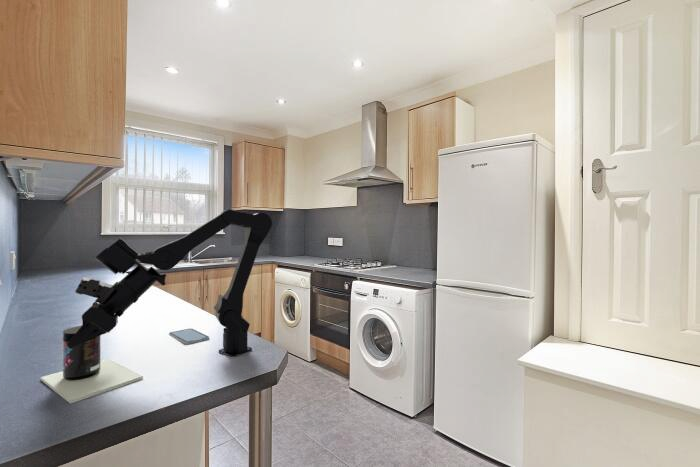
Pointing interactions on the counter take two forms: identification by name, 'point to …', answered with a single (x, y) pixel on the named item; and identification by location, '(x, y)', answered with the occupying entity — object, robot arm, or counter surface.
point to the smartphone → (189, 336)
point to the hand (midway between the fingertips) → (73, 340)
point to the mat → (92, 381)
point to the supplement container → (80, 357)
